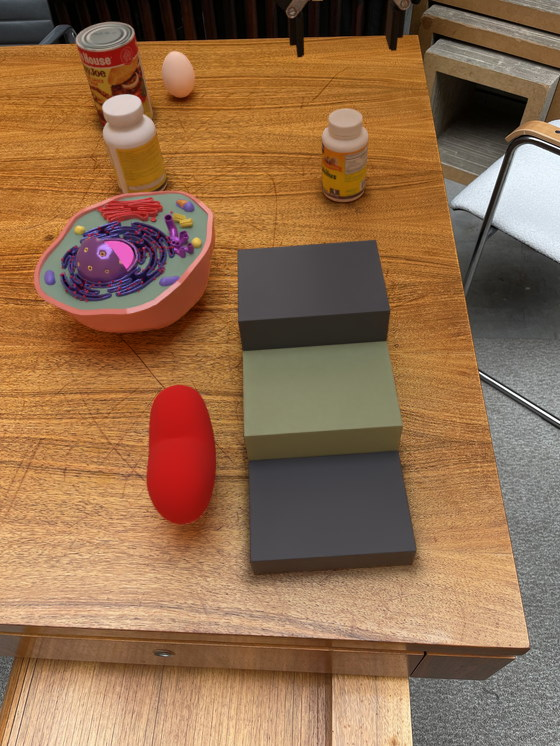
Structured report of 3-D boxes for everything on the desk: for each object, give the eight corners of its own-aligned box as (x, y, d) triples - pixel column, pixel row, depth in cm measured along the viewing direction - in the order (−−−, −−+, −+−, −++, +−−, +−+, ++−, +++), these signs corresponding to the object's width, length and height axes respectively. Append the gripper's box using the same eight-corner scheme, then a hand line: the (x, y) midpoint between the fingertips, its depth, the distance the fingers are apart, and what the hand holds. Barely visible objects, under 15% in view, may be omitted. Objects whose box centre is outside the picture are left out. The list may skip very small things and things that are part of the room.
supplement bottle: (314, 184, 83) (314, 110, 74) (354, 173, 83) (357, 99, 75) (331, 209, 79) (332, 135, 71) (372, 197, 80) (377, 123, 72)
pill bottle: (177, 189, 84) (158, 106, 74) (132, 208, 82) (108, 126, 72) (154, 166, 87) (134, 84, 78) (111, 184, 85) (85, 102, 76)
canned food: (90, 118, 95) (64, 36, 86) (134, 97, 98) (114, 16, 88) (118, 139, 91) (94, 56, 82) (163, 117, 94) (145, 34, 85)
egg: (173, 108, 96) (164, 64, 90) (161, 93, 98) (152, 50, 93) (202, 98, 97) (195, 54, 91) (190, 84, 99) (182, 41, 94)
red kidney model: (165, 437, 60) (141, 374, 53) (222, 431, 61) (207, 367, 53) (161, 555, 53) (132, 504, 45) (225, 549, 53) (208, 496, 45)
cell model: (260, 281, 72) (251, 199, 63) (131, 396, 64) (99, 320, 55) (157, 224, 79) (136, 143, 70) (28, 320, 71) (-15, 243, 62)
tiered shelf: (369, 318, 68) (376, 239, 59) (412, 564, 52) (430, 506, 43) (248, 327, 68) (237, 249, 60) (253, 575, 52) (239, 518, 43)
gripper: (250, -135, 51) (264, 72, 65) (465, -151, 51) (433, 60, 65) (248, -163, 56) (262, 36, 69) (446, -178, 56) (420, 25, 69)
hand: (345, 47), depth 67 cm, fingers open, 9 cm apart
